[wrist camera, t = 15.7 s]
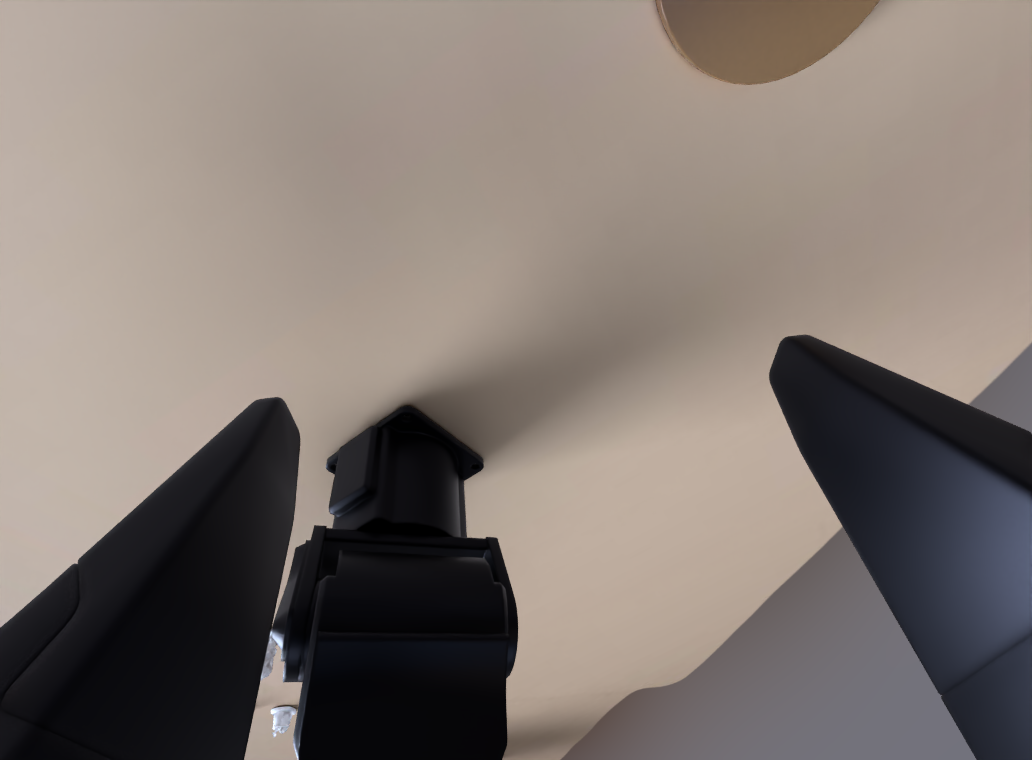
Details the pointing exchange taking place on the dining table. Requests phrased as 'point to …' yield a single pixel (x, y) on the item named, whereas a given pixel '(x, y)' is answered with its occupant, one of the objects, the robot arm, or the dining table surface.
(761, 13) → the round bronze-colored metal disc
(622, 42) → the dining table surface
